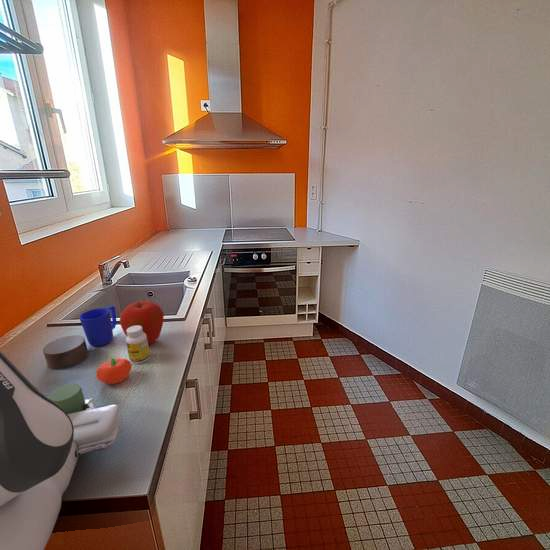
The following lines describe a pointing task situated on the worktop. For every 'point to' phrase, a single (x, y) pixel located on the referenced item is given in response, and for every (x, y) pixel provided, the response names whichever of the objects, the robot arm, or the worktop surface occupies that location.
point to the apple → (143, 318)
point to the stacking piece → (69, 398)
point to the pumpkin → (114, 371)
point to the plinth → (65, 352)
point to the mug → (99, 325)
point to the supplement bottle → (137, 345)
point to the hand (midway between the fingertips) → (71, 404)
